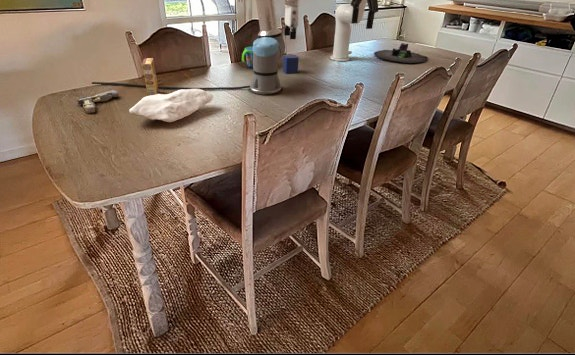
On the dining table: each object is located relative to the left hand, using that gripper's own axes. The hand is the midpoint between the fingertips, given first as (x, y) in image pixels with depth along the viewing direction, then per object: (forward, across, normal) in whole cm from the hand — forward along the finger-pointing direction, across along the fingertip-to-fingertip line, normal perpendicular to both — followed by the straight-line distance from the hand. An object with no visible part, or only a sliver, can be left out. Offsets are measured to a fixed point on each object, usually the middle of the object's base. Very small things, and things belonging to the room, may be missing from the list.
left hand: (361, 25), depth 167 cm
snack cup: (+30, +49, +38) cm, 69 cm away
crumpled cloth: (+30, -9, +89) cm, 94 cm away
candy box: (+30, +16, +95) cm, 101 cm away
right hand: (+13, +42, +19) cm, 48 cm away
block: (+30, +35, +21) cm, 51 cm away
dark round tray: (+30, +50, -63) cm, 86 cm away
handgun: (+30, +10, +117) cm, 121 cm away
